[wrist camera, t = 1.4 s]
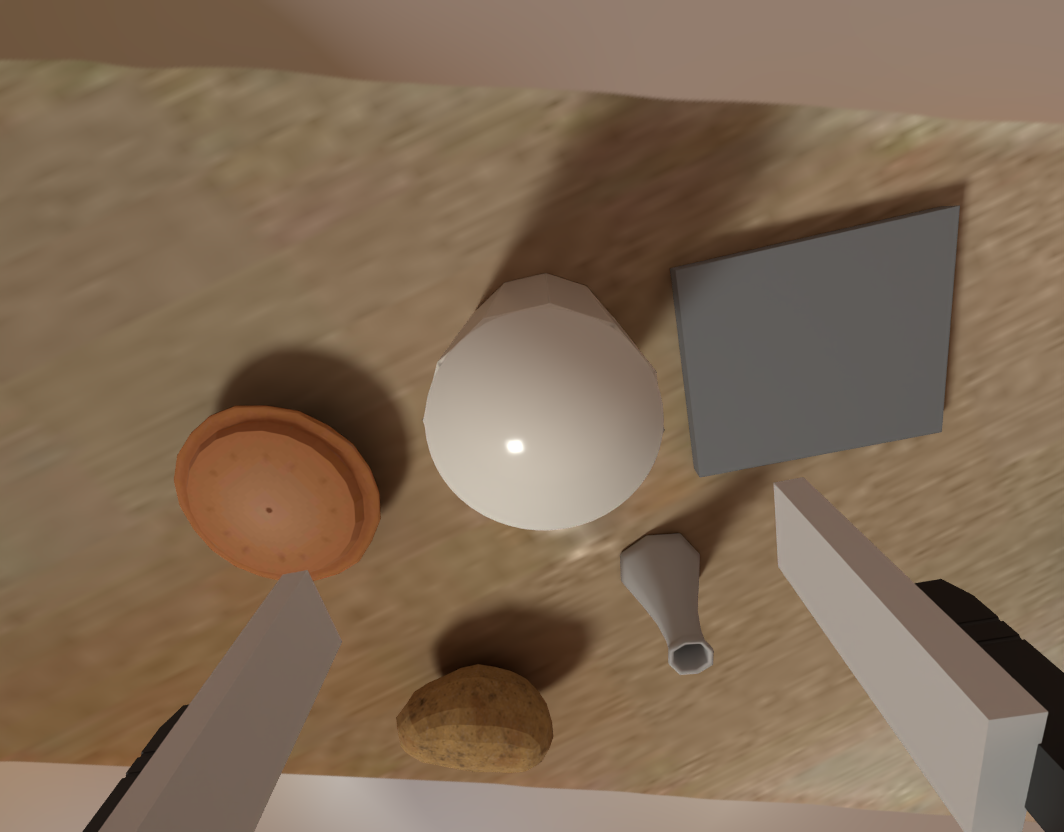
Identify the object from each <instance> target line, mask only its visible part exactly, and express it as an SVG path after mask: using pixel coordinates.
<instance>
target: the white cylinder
mask: <svg viewBox="0 0 1064 832" xmlns="http://www.w3.org/2000/svg"><path fill="white" fill-rule="evenodd" d="M656 373H657V372H656V370H655V369H654V368H653V366H652V365H651V364H650V363H649V361H648V360H647V359H646V358H645V356H644V355H643V354H642V353H641V351H640V350H639V349H638V347H637V346H636V345H635V344H634V342H633V341H632V340H631V339H630V337H629V336H628V335H627V334H626V332H625V331H624V330H623V328H622V327H621V326H620V325H619V323H618V322H617V321H616V320H615V318H614V317H613V316H612V315H611V314H610V313H609V312H608V311H607V309H606V308H605V307H604V306H603V305H602V304H601V302H600V301H599V300H598V299H597V298H596V297H595V295H594V294H593V293H592V292H591V291H590V290H589V288H588V287H587V286H585V285H582V284H578V283H575V282H572V281H569V280H566V279H563V278H560V277H557V276H554V275H551V274H548V273H544V274H540V275H535V276H531V277H527V278H522V279H518V280H514V281H510V282H505V283H503V285H502V286H501V287H500V288H499V289H497V290H496V291H495V292H494V293H493V294H492V295H491V296H490V297H489V298H488V299H487V300H486V301H485V302H484V303H483V304H482V305H481V306H480V307H479V308H478V309H477V310H476V311H474V313H473V314H472V316H471V317H470V318H469V320H468V321H467V322H466V324H465V325H464V326H463V328H462V329H461V330H460V332H459V333H458V335H457V336H456V337H455V339H454V340H453V341H452V343H451V344H450V345H449V347H448V348H447V350H446V351H445V352H444V354H443V355H442V356H441V358H440V359H439V360H438V362H437V366H436V370H435V374H434V378H433V381H432V384H431V387H430V390H429V394H428V397H427V403H426V409H425V415H424V418H423V422H424V425H425V430H426V439H427V443H428V447H429V450H430V454H431V456H432V459H433V461H434V464H435V466H436V468H437V469H438V471H439V473H440V475H441V476H442V478H443V479H444V481H445V482H446V483H447V485H448V486H449V487H450V489H451V490H452V491H453V492H454V493H455V494H456V495H457V496H458V497H459V498H460V499H461V500H462V501H464V502H465V503H466V504H467V505H469V506H470V507H471V508H473V509H474V510H476V511H478V512H479V513H481V514H482V515H484V516H486V517H488V518H491V519H493V520H495V521H497V522H500V523H503V524H506V525H509V526H513V527H518V528H523V529H531V530H557V529H565V528H570V527H574V526H578V525H582V524H585V523H588V522H590V521H593V520H595V519H597V518H599V517H601V516H603V515H605V514H607V513H609V512H610V511H612V510H613V509H615V508H616V507H618V506H619V505H621V504H622V503H623V502H624V501H625V500H627V499H628V498H629V497H630V496H631V495H632V494H633V493H634V492H635V491H636V490H637V488H638V487H639V486H640V485H641V484H642V482H643V481H644V479H645V478H646V476H647V475H648V473H649V472H650V470H651V468H652V466H653V464H654V462H655V459H656V457H657V454H658V451H659V449H660V444H661V440H662V435H663V432H664V430H665V429H664V425H663V423H664V417H663V404H662V400H661V395H660V391H659V388H658V382H657V375H656Z"/></svg>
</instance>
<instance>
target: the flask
mask: <svg viewBox="0 0 1064 832" xmlns="http://www.w3.org/2000/svg"><path fill="white" fill-rule="evenodd" d="M699 564H700V554H699V553H698V552H697V551H696V550H695V549H694V547H693V546H692V545H691V544H690V543H689V542H688V541H687V540H686V539H685V538H684V537H683V536H682V535H681V534H680V533H677V534H662V535H648V536H645V537H644V538H642V539H641V540H639V541H638V542H637V543H635V544H634V545H632V546H631V547H629V548H628V549H627V550H625V551H624V552H622V553H621V554H620V565H621V581H622V582H623V584H624V585H625V586H626V587H627V588H628V589H629V591H630V592H631V593H632V594H633V595H634V596H635V597H636V599H637V600H638V601H639V602H640V603H641V604H642V606H643V607H644V608H645V609H646V611H647V612H648V613H649V614H650V616H651V617H652V618H653V619H654V621H655V622H656V623H657V625H658V627H659V628H660V630H661V632H662V634H663V636H664V638H665V639H666V642H667V645H668V662H669V665H670V666H671V667H672V668H674V669H675V670H676V671H677V672H678V673H679V674H680V675H681V674H698V673H700V672H701V671H703V670H705V669H707V668H708V667H710V666H712V665H713V653H714V651H713V648H712V647H711V646H710V645H709V644H708V643H707V642H706V641H705V639H704V637H703V634H702V631H701V628H700V622H699V616H698V589H699Z"/></svg>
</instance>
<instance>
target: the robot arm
mask: <svg viewBox="0 0 1064 832" xmlns="http://www.w3.org/2000/svg"><path fill="white" fill-rule="evenodd" d="M774 498H775V516H776V535H777V553H778V567H779V568H780V570H781V571H782V573H783V574H784V575H785V577H786V578H787V580H788V581H789V583H790V584H791V585H792V587H793V588H794V590H795V591H796V593H797V594H798V595H799V597H800V598H801V600H802V601H803V603H804V604H805V605H806V607H807V608H808V610H809V611H810V613H811V614H812V615H813V617H814V618H815V620H816V621H817V623H818V624H819V625H820V627H821V628H822V630H823V631H824V633H825V634H826V635H827V637H828V638H829V640H830V641H831V643H832V644H833V645H834V647H835V648H836V650H837V651H838V653H839V654H840V655H841V657H842V658H843V660H844V661H845V663H846V664H847V665H848V667H849V668H850V670H851V671H852V673H853V674H854V675H855V677H856V678H857V680H858V681H859V683H860V684H861V685H862V687H863V688H864V690H865V691H866V693H867V694H868V695H869V697H870V698H871V700H872V701H873V703H874V704H875V705H876V707H877V708H878V710H879V711H880V713H881V714H882V715H883V717H884V718H885V720H886V721H887V723H888V724H889V725H890V727H891V728H892V730H893V731H894V733H895V734H896V735H897V737H898V738H899V740H900V741H901V743H902V744H903V745H904V747H905V748H906V750H907V751H908V753H909V754H910V755H911V757H912V758H913V760H914V761H915V763H916V764H917V765H918V767H919V768H920V770H921V771H922V773H923V774H924V775H925V777H926V778H927V780H928V781H929V783H930V784H931V785H932V787H933V788H934V790H935V791H936V793H937V794H938V795H939V797H940V798H941V800H942V801H943V803H944V804H945V805H946V807H947V808H948V810H949V811H950V813H951V814H952V815H953V817H954V818H955V820H956V821H957V823H958V824H959V825H960V827H961V828H962V830H963V831H964V832H1022V829H1023V825H1024V820H1025V816H1026V811H1028V812H1029V813H1030V814H1031V816H1032V817H1033V818H1034V819H1035V820H1036V822H1037V823H1038V824H1039V825H1040V826H1041V828H1042V829H1043V830H1044V831H1045V832H1064V673H1063V672H1062V671H1061V670H1060V669H1059V668H1058V667H1056V666H1055V665H1054V664H1053V663H1052V662H1051V661H1049V660H1048V659H1047V658H1046V657H1045V656H1043V655H1042V654H1041V653H1040V652H1039V651H1038V650H1036V649H1035V648H1034V647H1033V646H1032V645H1031V644H1029V643H1028V642H1027V641H1026V640H1025V639H1024V640H1022V639H1021V638H1020V636H1019V634H1018V633H1017V632H1015V631H1014V630H1013V629H1012V628H1011V627H1010V626H1008V625H1007V624H1006V623H1005V622H1004V621H1000V620H999V618H998V616H997V615H996V614H994V613H993V612H992V611H991V610H990V609H989V608H987V607H986V606H985V605H984V604H983V603H982V602H980V601H979V600H978V599H977V598H976V597H975V596H973V595H972V594H970V593H968V592H966V591H964V590H962V589H960V588H958V587H956V586H954V585H952V584H950V583H948V582H946V581H944V580H942V579H938V580H932V581H926V582H920V583H913V582H912V581H911V580H910V579H909V578H908V577H907V576H906V575H905V574H904V573H903V572H902V571H901V570H900V569H899V568H898V567H897V566H896V565H895V564H894V563H892V562H891V561H890V560H889V559H888V558H887V557H886V556H885V555H884V554H883V553H882V552H881V551H880V550H879V549H878V548H877V547H876V546H875V545H874V544H873V543H872V542H871V541H870V540H868V539H867V538H866V537H865V536H864V535H863V534H862V533H861V532H860V531H859V530H858V529H857V528H856V527H855V526H854V525H853V524H852V523H851V522H850V521H849V520H848V519H847V518H846V517H844V516H843V515H842V514H841V513H840V512H839V511H838V510H837V509H836V508H835V507H834V506H833V505H832V504H831V503H830V502H829V501H828V500H827V499H826V498H825V497H824V496H823V495H822V494H820V493H819V492H818V491H817V490H816V489H815V488H814V487H813V486H812V485H811V484H810V483H809V482H808V481H807V480H806V479H805V478H804V477H802V478H797V479H791V480H786V481H781V482H775V483H774ZM341 643H342V640H341V638H340V636H339V634H338V632H337V630H336V628H335V626H334V624H333V622H332V620H331V618H330V616H329V613H328V611H327V609H326V607H325V605H324V603H323V601H322V599H321V597H320V595H319V593H318V591H317V589H316V586H315V584H314V582H313V580H312V578H311V576H310V574H309V572H308V570H305V571H300V572H294V573H289V574H284V575H282V576H281V578H280V579H279V581H278V582H277V583H276V585H275V586H274V588H273V589H272V590H271V592H270V593H269V594H268V596H267V597H266V599H265V600H264V601H263V603H262V604H261V606H260V607H259V608H258V610H257V611H256V613H255V614H254V615H253V617H252V618H251V620H250V621H249V622H248V624H247V625H246V627H245V628H244V629H243V631H242V632H241V633H240V635H239V636H238V638H237V639H236V640H235V642H234V643H233V645H232V646H231V647H230V649H229V650H228V652H227V653H226V654H225V656H224V657H223V659H222V660H221V661H220V663H219V664H218V665H217V667H216V668H215V670H214V671H213V672H212V674H211V675H210V677H209V678H208V679H207V681H206V682H205V684H204V685H203V686H202V688H201V689H200V691H199V692H198V693H197V695H196V696H195V698H194V699H193V700H192V702H191V703H190V704H189V705H184V706H182V707H181V708H180V709H179V710H178V711H177V712H176V713H175V714H174V715H173V716H172V717H171V718H170V719H169V720H168V721H166V722H165V723H164V724H163V725H162V726H161V727H160V728H159V729H158V731H157V732H156V734H155V735H154V736H153V738H152V739H151V740H150V742H149V743H148V744H147V746H146V747H145V748H144V750H143V751H142V752H141V757H138V758H137V759H136V760H135V762H134V763H133V764H132V766H131V767H130V768H129V770H128V771H127V773H126V777H125V778H122V779H121V781H120V782H119V783H118V785H117V786H116V787H115V789H114V790H113V791H112V793H111V794H110V795H109V797H108V798H107V800H106V801H105V802H104V803H103V805H102V806H101V808H100V809H99V810H98V812H97V813H96V814H95V816H94V817H93V818H92V820H91V821H90V822H89V824H88V825H87V826H86V828H85V829H84V830H83V832H254V831H255V829H256V826H257V824H258V822H259V820H260V818H261V816H262V813H263V811H264V808H265V807H266V805H267V803H268V800H269V798H270V796H271V794H272V792H273V789H274V787H275V785H276V783H277V781H278V779H279V777H280V775H281V772H282V770H283V768H284V766H285V764H286V762H287V759H288V757H289V755H290V753H291V751H292V749H293V746H294V744H295V742H296V740H297V738H298V736H299V733H300V731H301V729H302V727H303V725H304V723H305V721H306V718H307V716H308V714H309V712H310V710H311V708H312V705H313V703H314V701H315V699H316V697H317V695H318V692H319V690H320V688H321V686H322V684H323V682H324V679H325V677H326V675H327V673H328V671H329V669H330V666H331V664H332V662H333V660H334V658H335V656H336V654H337V651H338V649H339V647H340V645H341Z"/></svg>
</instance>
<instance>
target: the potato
mask: <svg viewBox="0 0 1064 832" xmlns="http://www.w3.org/2000/svg"><path fill="white" fill-rule="evenodd" d="M396 719H397V730H398V735H399V740H400V745H401V747H402V748H403V749H404V751H405V752H406V753H408V754H409V755H411V756H413V757H415V758H416V759H418V760H420V761H421V762H424V763H429V764H435V765H440V766H445V767H450V768H455V769H461V770H467V771H472V772H504V773H514V772H524V771H527V770H529V769H531V768H532V767H534V766H536V765H537V764H539V763H540V762H542V760H543V758H544V757H545V755H546V753H547V751H548V750H549V748H550V745H551V742H552V739H553V728H552V720H551V717H550V714H549V710H548V707H547V704H546V702H545V701H544V699H543V698H542V696H541V695H540V693H539V692H538V690H537V689H536V688H535V687H534V686H533V685H532V684H531V683H530V682H529V681H528V680H527V679H526V678H524V677H522V676H520V675H518V674H516V673H514V672H512V671H509V670H505V669H501V668H497V667H492V666H486V665H479V664H477V665H472V666H468V667H463V668H460V669H458V670H456V671H454V672H452V673H450V674H447V675H445V676H443V677H441V678H439V679H436V680H434V681H432V682H429V683H428V684H426V685H424V686H423V687H421V688H420V689H418V690H417V691H415V692H414V693H413V695H412V696H411V698H410V699H409V701H408V702H407V704H406V705H405V707H404V708H403V709H402V711H401V712H400V713H399V715H398V716H397V717H396Z"/></svg>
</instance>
